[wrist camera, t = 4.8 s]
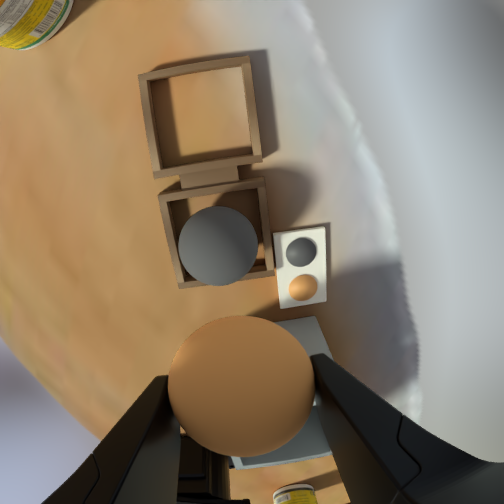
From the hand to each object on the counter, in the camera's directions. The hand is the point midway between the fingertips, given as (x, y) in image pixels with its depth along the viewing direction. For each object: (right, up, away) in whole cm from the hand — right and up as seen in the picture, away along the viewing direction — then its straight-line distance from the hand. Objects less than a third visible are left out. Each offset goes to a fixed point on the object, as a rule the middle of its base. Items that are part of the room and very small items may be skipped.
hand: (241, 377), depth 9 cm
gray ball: (-2, +5, +9) cm, 11 cm away
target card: (+3, +3, +11) cm, 11 cm away
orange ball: (0, +1, +1) cm, 2 cm away
